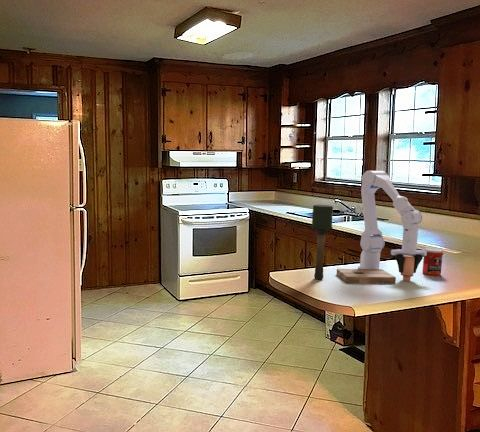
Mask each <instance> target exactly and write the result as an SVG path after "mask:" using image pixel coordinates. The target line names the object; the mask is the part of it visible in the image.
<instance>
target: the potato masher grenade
mask: <svg viewBox="0 0 480 432" xmlns="http://www.w3.org/2000/svg"><path fill="white" fill-rule="evenodd" d="M333 211H334V206H332V205H329V204H314V205H313V207H312V217H311V218H312V220H311V225H310V228H312V229H316V234H317V236H316V245H317V246H316V248H317V249H316V262H315V263H316V265H315V269H314V273H313V274H314V276H313V277H314V279H315V280H318V281H321V280H323V279H324V254H325V253H324V252H325V243H326V233H327V230H333V228H334V227H333Z"/></svg>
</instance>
